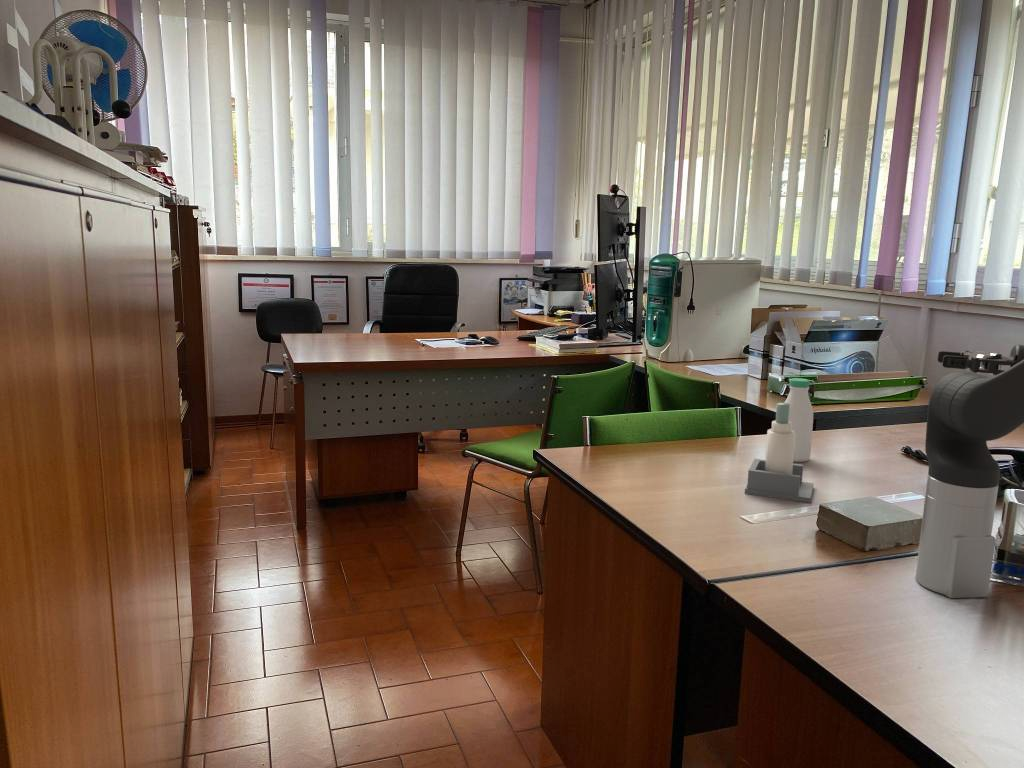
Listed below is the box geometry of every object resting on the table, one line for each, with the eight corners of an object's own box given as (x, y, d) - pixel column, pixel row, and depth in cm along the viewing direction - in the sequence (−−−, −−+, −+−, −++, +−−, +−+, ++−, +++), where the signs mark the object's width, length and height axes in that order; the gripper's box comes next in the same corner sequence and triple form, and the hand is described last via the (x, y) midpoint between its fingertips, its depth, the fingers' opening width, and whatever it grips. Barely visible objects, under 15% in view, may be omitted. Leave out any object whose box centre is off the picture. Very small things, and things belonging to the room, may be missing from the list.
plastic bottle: (795, 489, 157) (801, 406, 154) (770, 490, 157) (775, 406, 153) (784, 481, 163) (790, 401, 159) (759, 481, 162) (764, 401, 159)
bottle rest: (810, 502, 152) (812, 479, 151) (744, 493, 157) (746, 470, 157) (813, 487, 162) (815, 465, 161) (751, 479, 167) (753, 457, 166)
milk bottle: (812, 463, 180) (819, 382, 177) (779, 461, 182) (785, 381, 178) (806, 455, 188) (813, 377, 184) (774, 453, 189) (781, 375, 185)
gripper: (1047, 393, 129) (941, 383, 136) (1030, 382, 142) (933, 373, 149) (1054, 350, 128) (947, 342, 134) (1036, 343, 141) (939, 336, 147)
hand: (940, 358), depth 142 cm, fingers open, 8 cm apart
